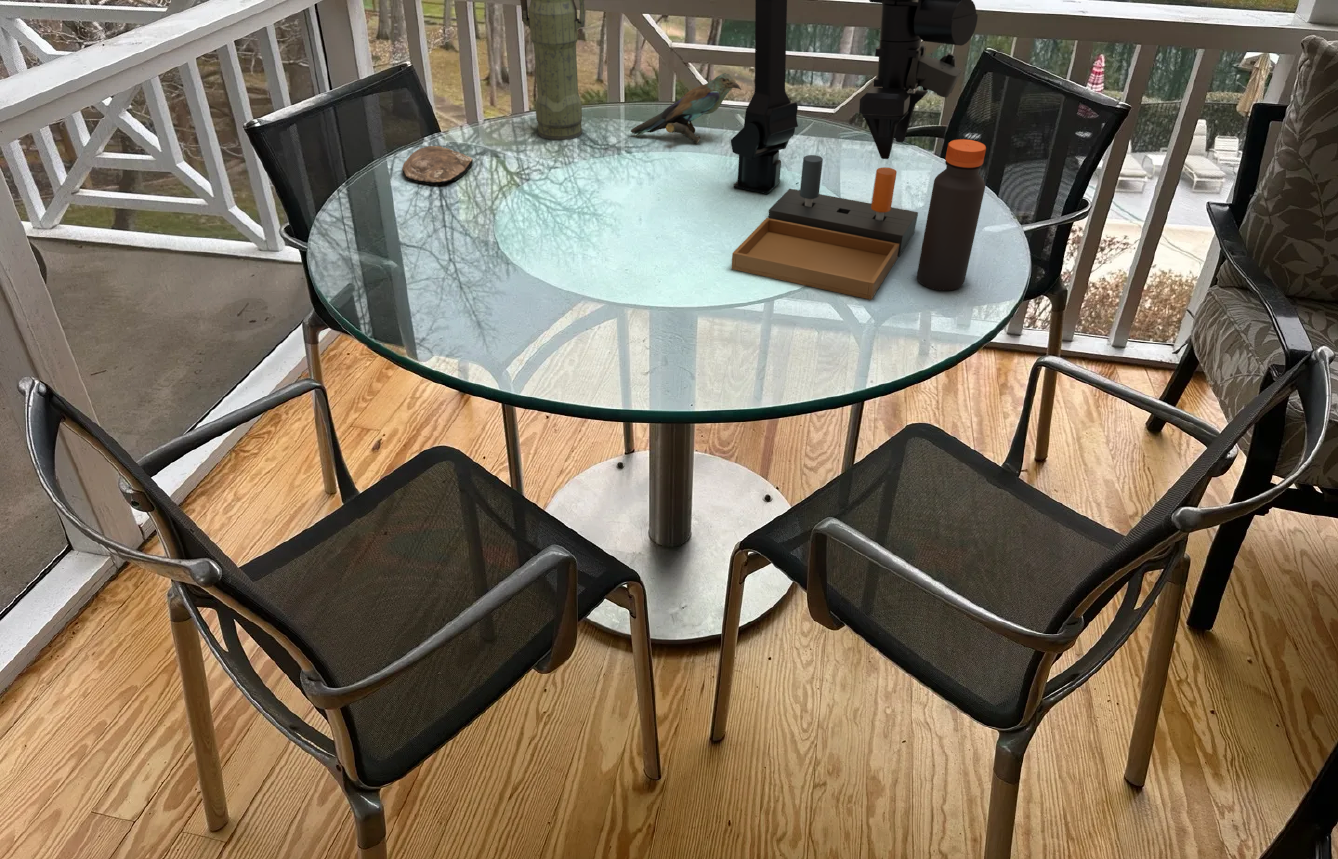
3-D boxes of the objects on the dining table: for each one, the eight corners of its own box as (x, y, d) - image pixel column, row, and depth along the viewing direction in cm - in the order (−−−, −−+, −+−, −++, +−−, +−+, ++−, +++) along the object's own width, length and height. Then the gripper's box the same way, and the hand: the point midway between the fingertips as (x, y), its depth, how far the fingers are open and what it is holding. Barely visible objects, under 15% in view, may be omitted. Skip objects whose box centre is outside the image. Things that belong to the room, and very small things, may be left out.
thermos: (532, 124, 190) (517, -70, 169) (590, 125, 190) (583, -69, 169) (527, 139, 182) (511, -61, 162) (588, 140, 183) (579, -61, 162)
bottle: (973, 288, 134) (1003, 151, 122) (930, 294, 133) (957, 156, 121) (948, 267, 140) (976, 134, 128) (907, 273, 138) (931, 138, 126)
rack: (899, 257, 142) (902, 235, 140) (767, 230, 150) (768, 209, 148) (914, 232, 150) (918, 211, 147) (787, 208, 157) (789, 188, 155)
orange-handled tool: (864, 240, 147) (874, 172, 140) (869, 233, 149) (879, 165, 143) (883, 243, 146) (893, 175, 139) (888, 236, 148) (898, 169, 142)
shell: (388, 180, 165) (385, 160, 163) (423, 155, 175) (420, 136, 173) (448, 187, 162) (445, 167, 160) (479, 162, 172) (477, 143, 170)
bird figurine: (624, 141, 180) (679, 50, 169) (633, 125, 188) (686, 38, 177) (682, 180, 182) (741, 93, 172) (688, 163, 190) (744, 79, 180)
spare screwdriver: (794, 226, 151) (800, 159, 144) (800, 219, 153) (807, 153, 147) (812, 229, 150) (819, 162, 143) (818, 222, 152) (825, 156, 146)
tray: (731, 269, 139) (732, 252, 137) (765, 232, 149) (766, 217, 147) (871, 299, 131) (873, 283, 130) (896, 259, 142) (899, 243, 140)
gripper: (945, 52, 121) (934, 172, 130) (971, 27, 135) (959, 136, 144) (861, 50, 126) (855, 166, 134) (894, 26, 140) (887, 132, 148)
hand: (892, 150), depth 140 cm, fingers open, 9 cm apart
